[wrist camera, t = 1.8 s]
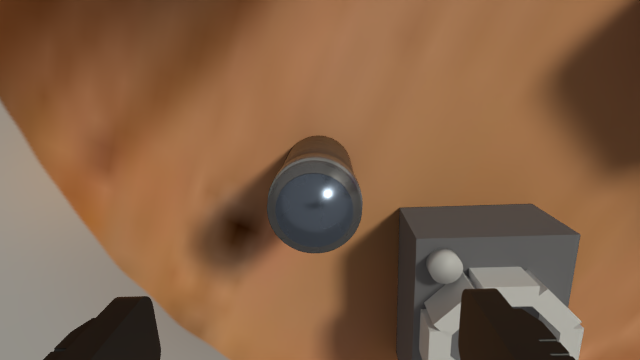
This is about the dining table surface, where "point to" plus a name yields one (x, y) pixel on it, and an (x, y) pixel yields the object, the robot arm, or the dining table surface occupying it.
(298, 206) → the lens
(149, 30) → the dining table surface
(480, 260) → the camera body
